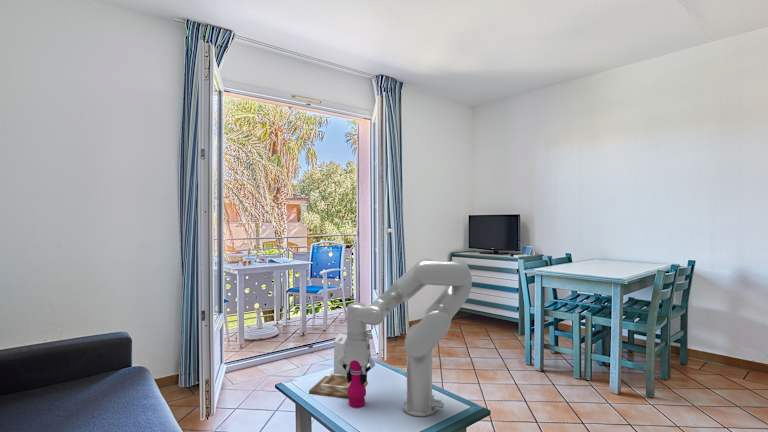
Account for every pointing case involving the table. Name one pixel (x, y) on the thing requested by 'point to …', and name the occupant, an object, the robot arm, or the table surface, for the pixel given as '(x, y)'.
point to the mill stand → (332, 386)
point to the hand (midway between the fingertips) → (356, 382)
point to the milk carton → (339, 353)
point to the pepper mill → (356, 386)
